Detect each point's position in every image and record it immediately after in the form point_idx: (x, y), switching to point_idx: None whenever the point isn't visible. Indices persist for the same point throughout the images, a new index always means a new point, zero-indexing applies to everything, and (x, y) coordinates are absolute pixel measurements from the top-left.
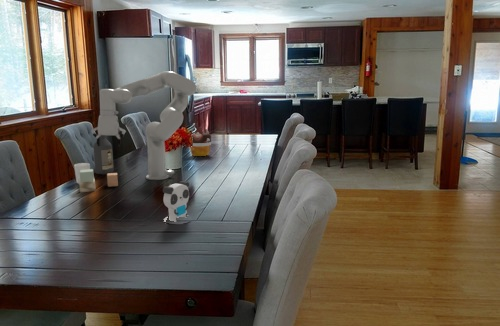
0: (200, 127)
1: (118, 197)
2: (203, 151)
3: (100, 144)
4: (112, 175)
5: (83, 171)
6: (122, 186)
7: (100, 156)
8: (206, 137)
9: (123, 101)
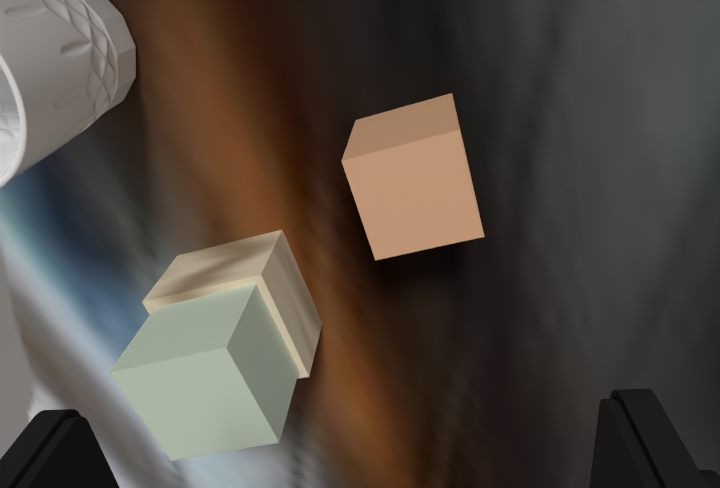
0: None
1: (538, 461)
2: None
3: (73, 453)
4: (431, 247)
5: (184, 434)
6: (521, 203)
7: None
8: None
9: None
